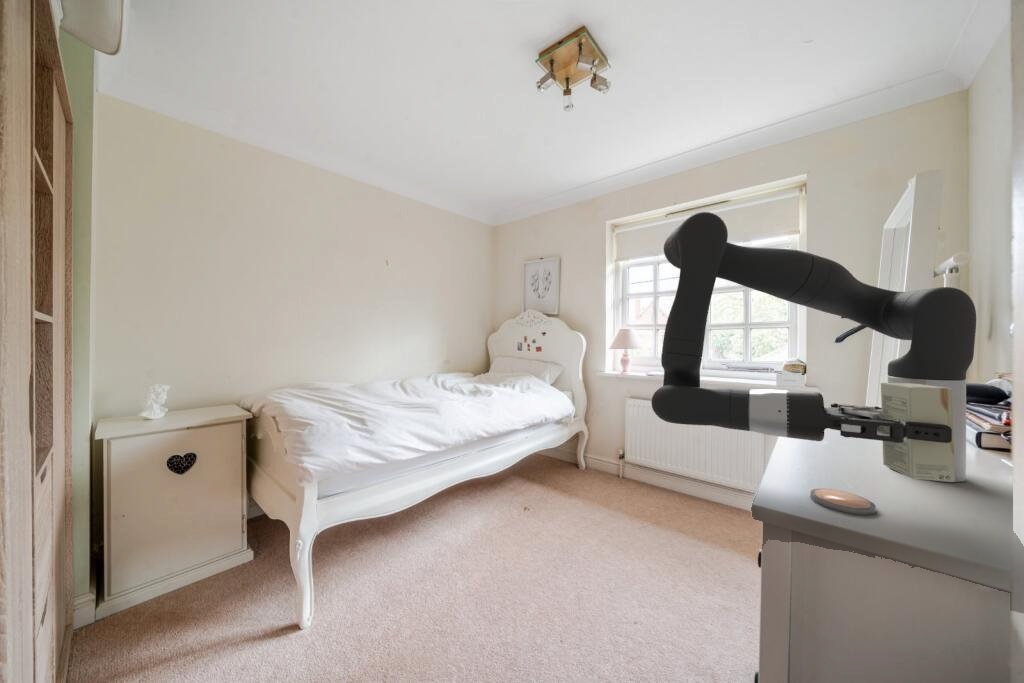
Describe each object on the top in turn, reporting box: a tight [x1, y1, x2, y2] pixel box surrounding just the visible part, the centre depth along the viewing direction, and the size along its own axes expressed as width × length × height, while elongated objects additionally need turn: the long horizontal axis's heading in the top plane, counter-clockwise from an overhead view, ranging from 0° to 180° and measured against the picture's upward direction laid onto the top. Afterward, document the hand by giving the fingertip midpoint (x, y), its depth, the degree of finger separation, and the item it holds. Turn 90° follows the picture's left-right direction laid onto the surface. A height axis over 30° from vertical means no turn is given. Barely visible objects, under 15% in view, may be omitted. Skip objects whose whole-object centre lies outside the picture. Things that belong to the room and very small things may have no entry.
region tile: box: [809, 488, 877, 516], centre depth 52 cm, size 7×7×1 cm
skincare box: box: [880, 382, 956, 483], centre depth 48 cm, size 6×4×12 cm
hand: (939, 427), depth 47 cm, fingers closed on skincare box, 7 cm apart
